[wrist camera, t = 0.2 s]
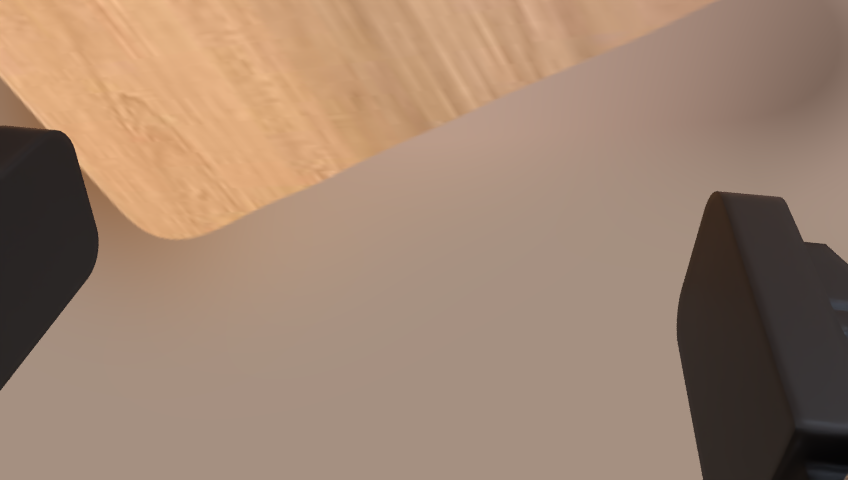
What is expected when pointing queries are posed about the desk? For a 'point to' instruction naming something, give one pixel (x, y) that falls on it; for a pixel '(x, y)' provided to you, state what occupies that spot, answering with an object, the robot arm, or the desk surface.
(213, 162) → the desk surface
